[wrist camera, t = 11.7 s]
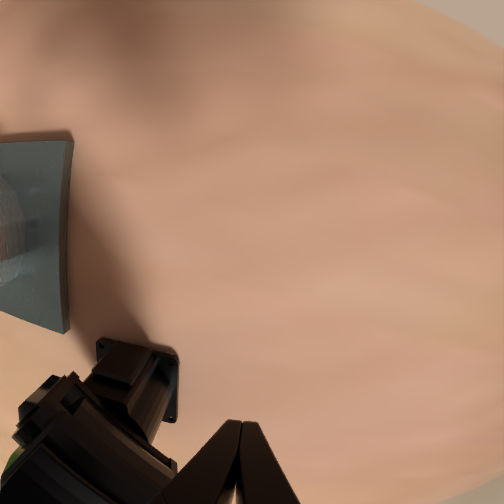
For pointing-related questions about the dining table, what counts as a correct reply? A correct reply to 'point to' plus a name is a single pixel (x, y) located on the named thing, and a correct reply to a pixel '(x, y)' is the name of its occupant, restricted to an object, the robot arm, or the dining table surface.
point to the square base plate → (35, 231)
